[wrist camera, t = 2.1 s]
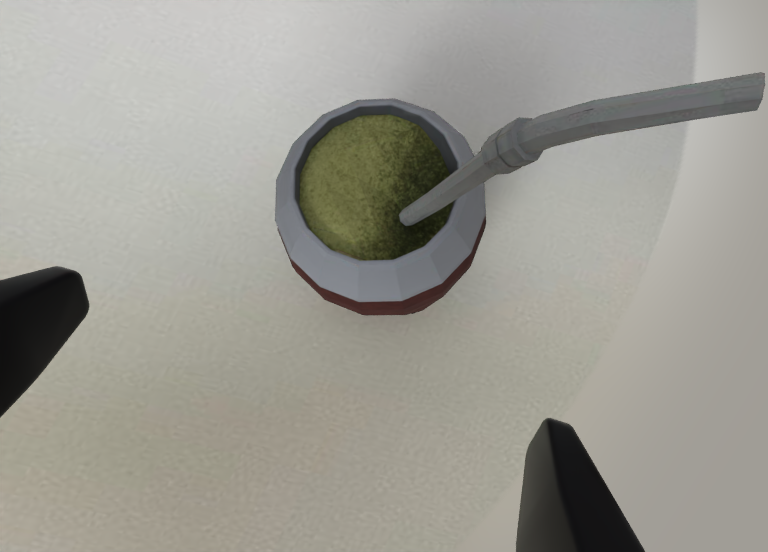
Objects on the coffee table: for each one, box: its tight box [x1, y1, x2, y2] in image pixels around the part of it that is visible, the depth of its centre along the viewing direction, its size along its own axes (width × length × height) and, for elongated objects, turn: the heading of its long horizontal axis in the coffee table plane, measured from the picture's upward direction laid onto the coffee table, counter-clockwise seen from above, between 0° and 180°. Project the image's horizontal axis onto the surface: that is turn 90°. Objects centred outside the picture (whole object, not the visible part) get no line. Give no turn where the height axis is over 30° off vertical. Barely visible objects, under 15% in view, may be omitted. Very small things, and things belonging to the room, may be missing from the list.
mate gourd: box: [275, 73, 765, 315], centre depth 14 cm, size 8×8×15 cm
